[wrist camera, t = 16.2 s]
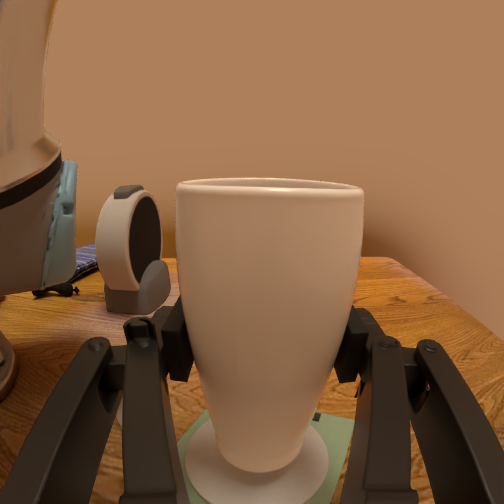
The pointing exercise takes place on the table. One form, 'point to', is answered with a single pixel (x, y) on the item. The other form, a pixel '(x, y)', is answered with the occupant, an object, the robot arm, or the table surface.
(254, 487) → the scale
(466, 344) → the table surface
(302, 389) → the drinking glass
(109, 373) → the robot arm
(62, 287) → the chess piece
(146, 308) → the alarm clock
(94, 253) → the dish towel
